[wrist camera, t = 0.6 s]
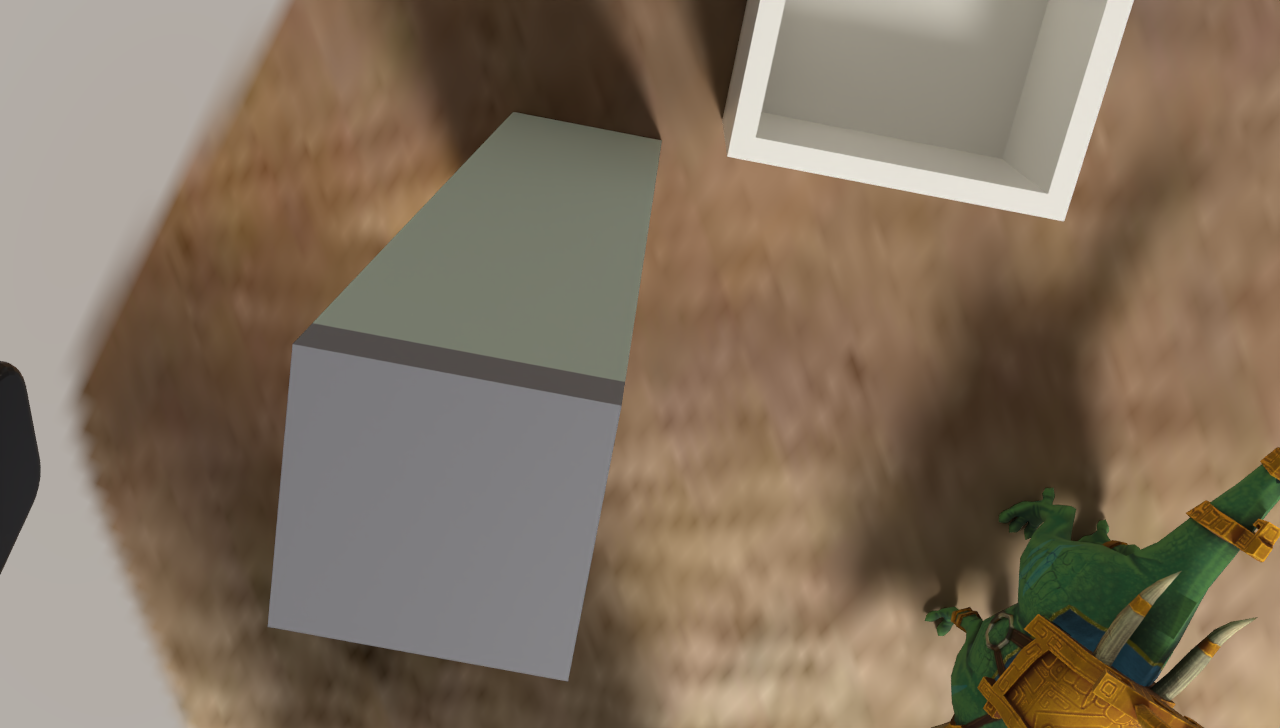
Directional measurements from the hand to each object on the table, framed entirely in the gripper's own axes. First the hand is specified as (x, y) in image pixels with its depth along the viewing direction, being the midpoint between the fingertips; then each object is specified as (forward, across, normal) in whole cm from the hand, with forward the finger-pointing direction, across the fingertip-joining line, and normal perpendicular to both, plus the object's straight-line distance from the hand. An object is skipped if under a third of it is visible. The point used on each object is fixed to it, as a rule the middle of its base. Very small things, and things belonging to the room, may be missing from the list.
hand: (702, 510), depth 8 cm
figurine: (+15, -9, +12) cm, 21 cm away
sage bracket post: (+16, +2, +6) cm, 17 cm away
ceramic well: (+17, -4, +1) cm, 18 cm away
